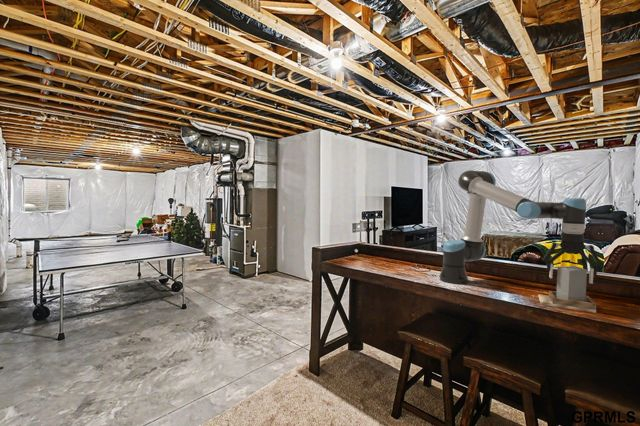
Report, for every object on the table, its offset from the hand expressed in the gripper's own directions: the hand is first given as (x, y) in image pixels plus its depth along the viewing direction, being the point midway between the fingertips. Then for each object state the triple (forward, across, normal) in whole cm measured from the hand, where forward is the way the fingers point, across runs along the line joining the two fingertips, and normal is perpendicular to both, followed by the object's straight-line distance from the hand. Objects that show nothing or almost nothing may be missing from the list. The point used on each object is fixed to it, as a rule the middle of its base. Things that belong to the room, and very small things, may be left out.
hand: (570, 280), depth 127 cm
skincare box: (+10, 0, 0) cm, 10 cm away
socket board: (+11, -1, 0) cm, 11 cm away
